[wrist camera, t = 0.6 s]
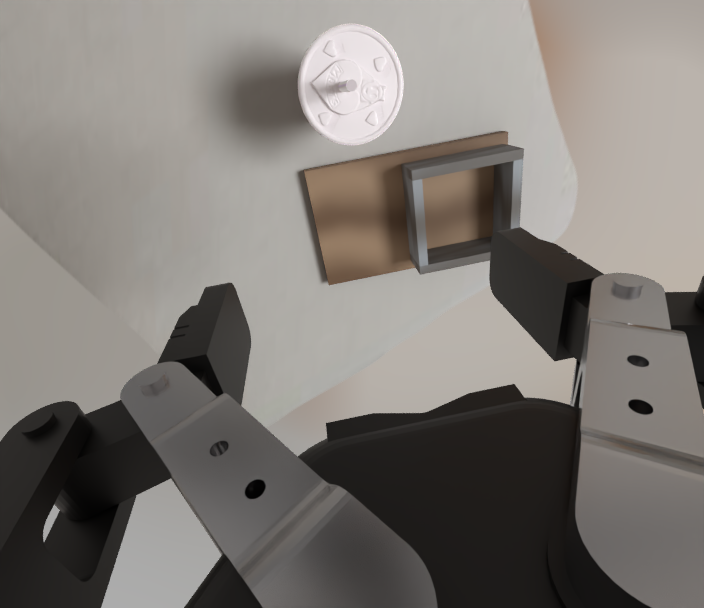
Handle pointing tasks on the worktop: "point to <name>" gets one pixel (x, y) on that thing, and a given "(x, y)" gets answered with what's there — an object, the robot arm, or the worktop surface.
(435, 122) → the worktop surface
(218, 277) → the worktop surface
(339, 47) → the smoothie
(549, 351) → the robot arm
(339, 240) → the caddy
